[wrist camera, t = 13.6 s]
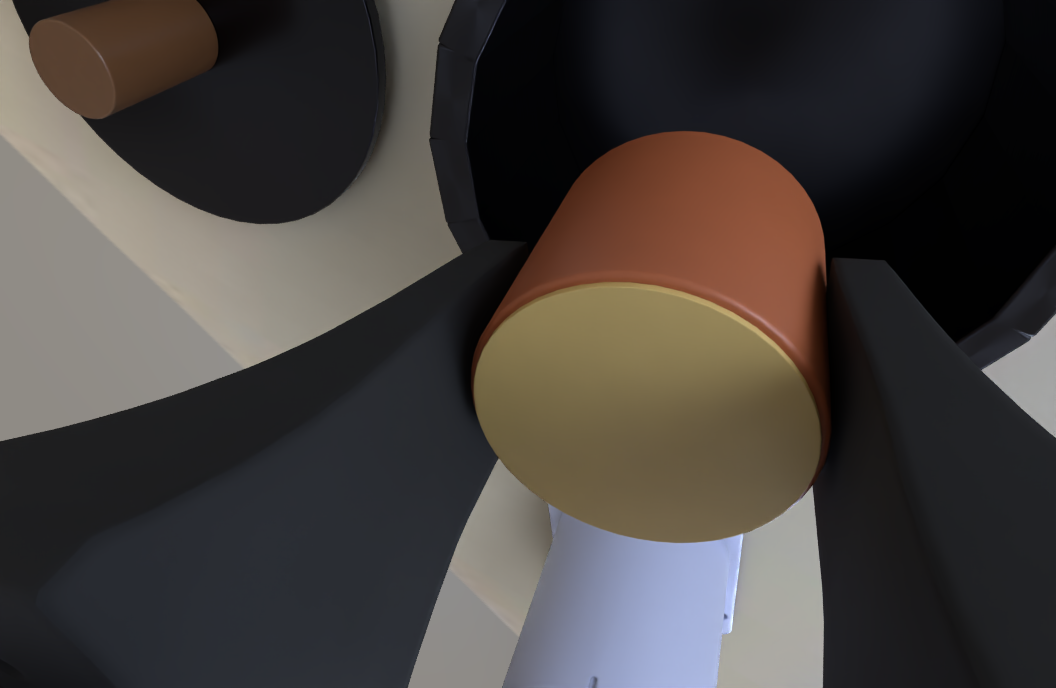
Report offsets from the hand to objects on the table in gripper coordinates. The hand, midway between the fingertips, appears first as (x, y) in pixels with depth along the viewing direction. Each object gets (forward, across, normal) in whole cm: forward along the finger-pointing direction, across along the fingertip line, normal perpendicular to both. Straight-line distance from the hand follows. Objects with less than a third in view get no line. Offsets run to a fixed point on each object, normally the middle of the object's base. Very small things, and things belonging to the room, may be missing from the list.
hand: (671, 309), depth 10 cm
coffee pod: (+1, 0, 0) cm, 1 cm away
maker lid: (+9, +15, -2) cm, 18 cm away
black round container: (+10, -1, 0) cm, 10 cm away
